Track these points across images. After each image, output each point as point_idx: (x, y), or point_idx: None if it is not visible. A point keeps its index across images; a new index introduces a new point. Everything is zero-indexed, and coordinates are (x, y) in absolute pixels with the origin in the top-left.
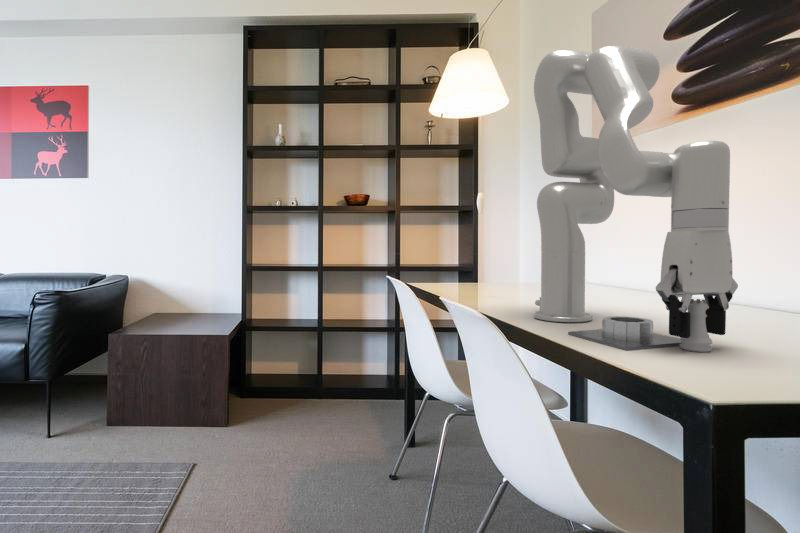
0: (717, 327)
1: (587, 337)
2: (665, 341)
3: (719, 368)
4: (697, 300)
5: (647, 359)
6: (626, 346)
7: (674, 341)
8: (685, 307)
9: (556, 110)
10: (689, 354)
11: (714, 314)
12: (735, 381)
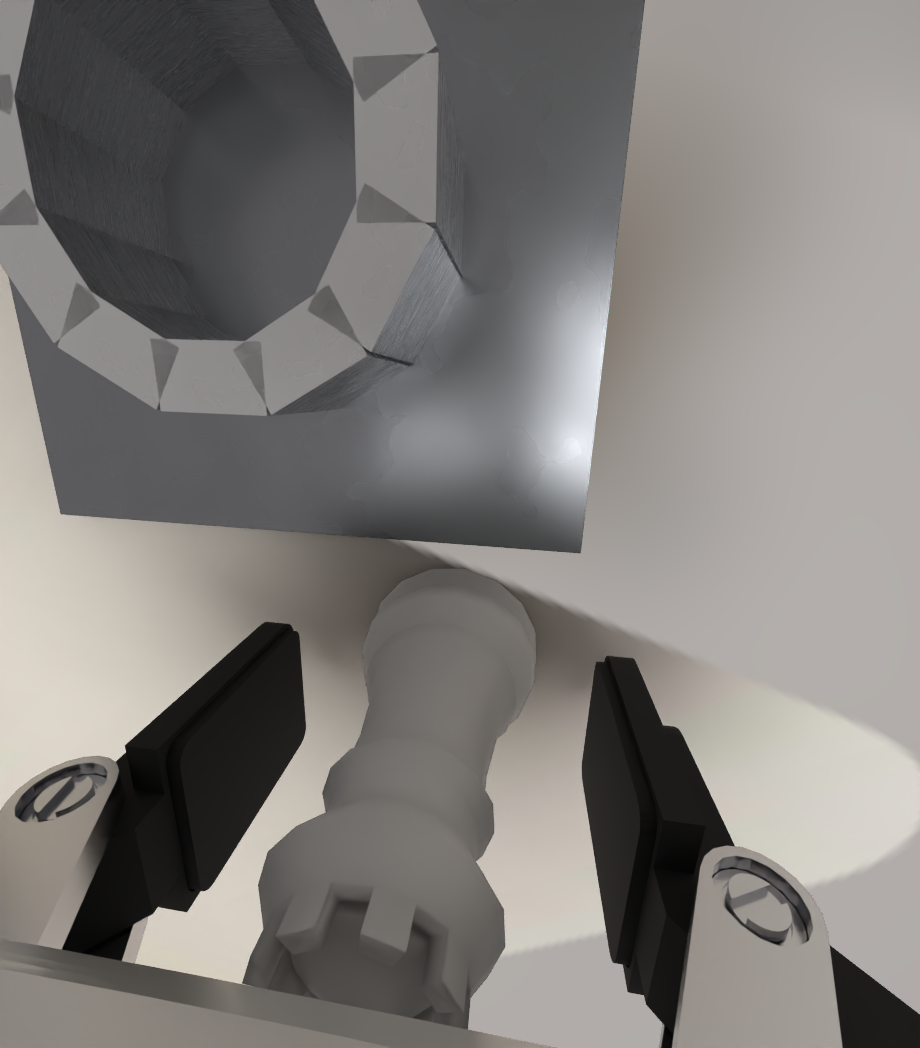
0: (589, 787)
1: None
2: (399, 485)
3: (242, 848)
4: (432, 972)
5: (73, 666)
6: (73, 498)
7: (458, 506)
8: (117, 941)
9: None
10: (325, 685)
11: (610, 868)
12: (162, 927)
